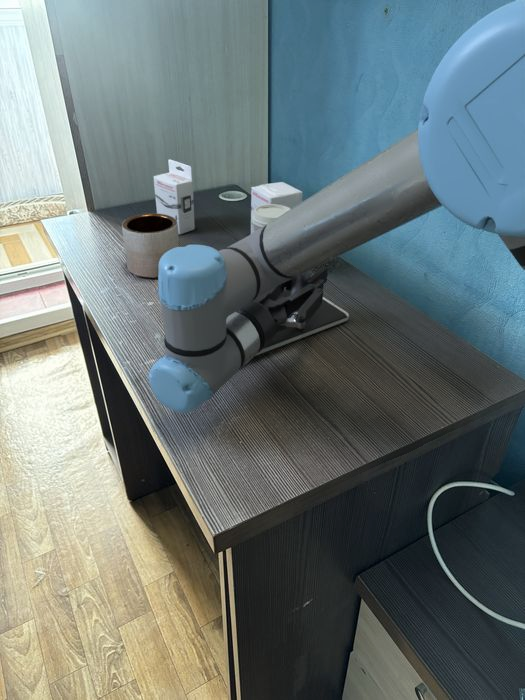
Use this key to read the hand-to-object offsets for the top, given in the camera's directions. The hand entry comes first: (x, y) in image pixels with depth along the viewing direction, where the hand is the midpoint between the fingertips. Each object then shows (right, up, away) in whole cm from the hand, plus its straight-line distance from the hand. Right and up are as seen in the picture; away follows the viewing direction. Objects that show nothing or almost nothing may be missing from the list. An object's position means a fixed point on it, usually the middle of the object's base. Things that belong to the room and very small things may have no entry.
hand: (315, 271), depth 89 cm
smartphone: (-9, -10, 0) cm, 13 cm away
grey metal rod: (-3, -8, 0) cm, 8 cm away
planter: (-31, +3, +17) cm, 36 cm away
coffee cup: (-7, +4, +19) cm, 21 cm away
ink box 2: (-6, +12, +31) cm, 34 cm away
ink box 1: (-30, +16, +35) cm, 49 cm away
